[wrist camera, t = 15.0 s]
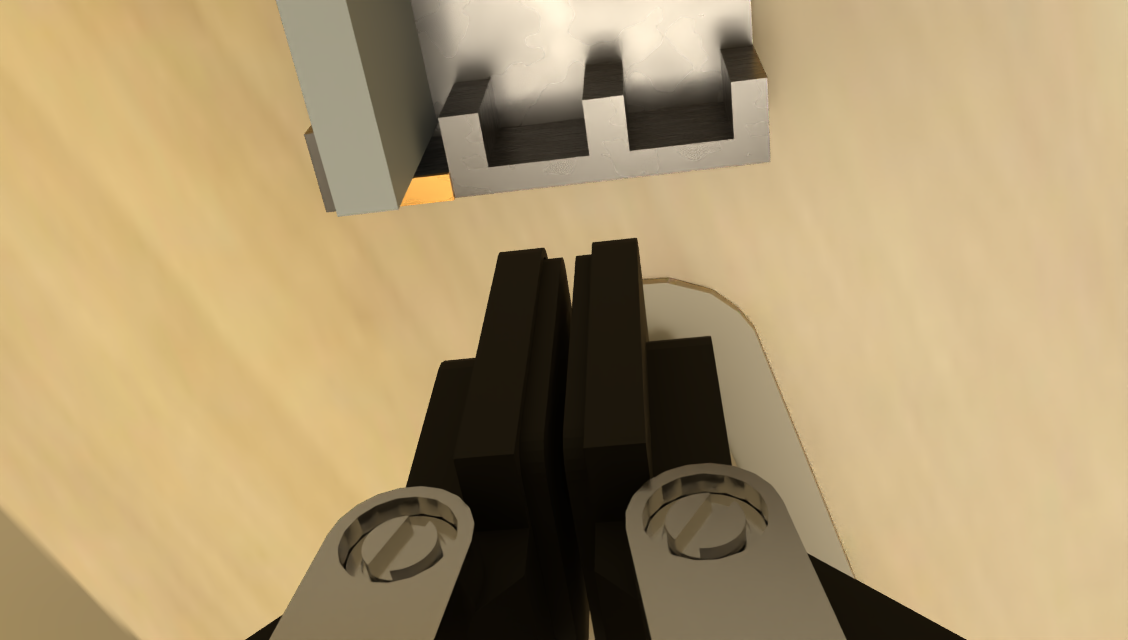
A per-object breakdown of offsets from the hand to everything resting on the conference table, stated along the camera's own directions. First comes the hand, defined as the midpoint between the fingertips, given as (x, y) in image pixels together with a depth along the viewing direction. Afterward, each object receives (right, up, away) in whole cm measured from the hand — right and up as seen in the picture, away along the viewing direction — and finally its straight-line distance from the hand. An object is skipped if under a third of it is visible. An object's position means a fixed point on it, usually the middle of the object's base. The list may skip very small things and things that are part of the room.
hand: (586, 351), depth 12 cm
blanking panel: (-7, +13, +23) cm, 27 cm away
